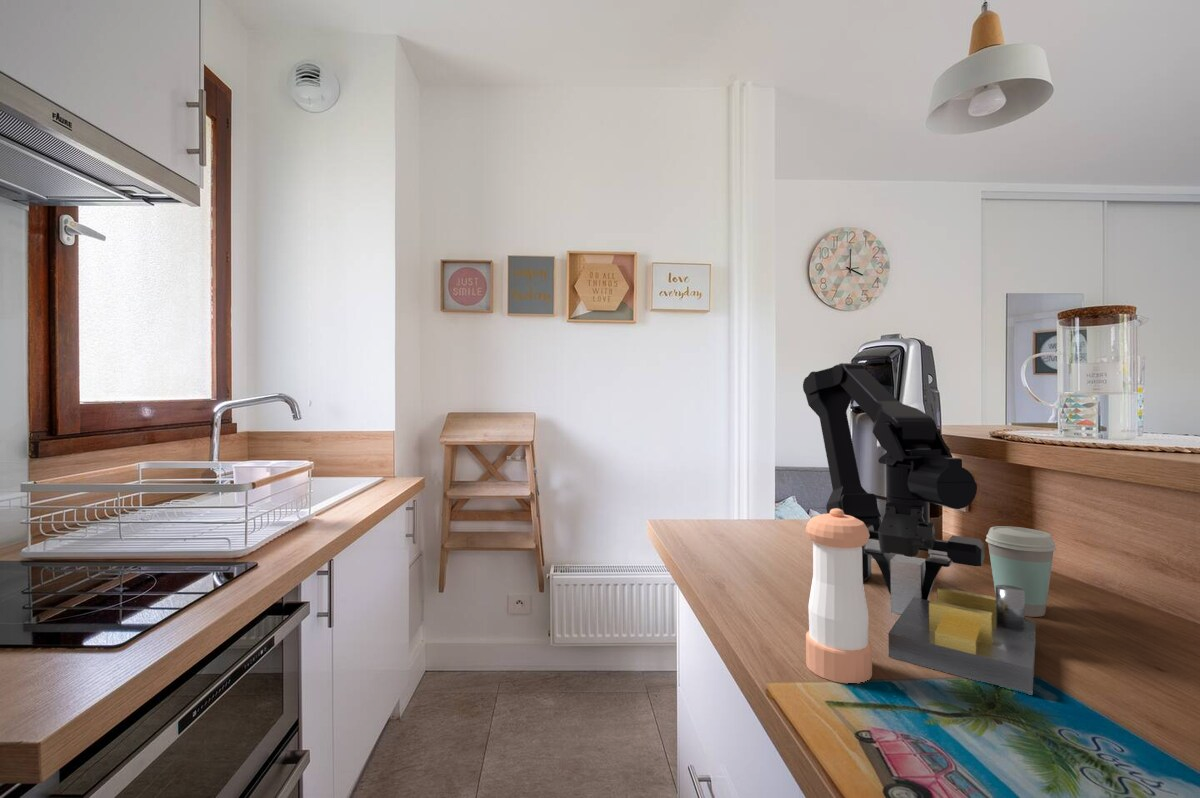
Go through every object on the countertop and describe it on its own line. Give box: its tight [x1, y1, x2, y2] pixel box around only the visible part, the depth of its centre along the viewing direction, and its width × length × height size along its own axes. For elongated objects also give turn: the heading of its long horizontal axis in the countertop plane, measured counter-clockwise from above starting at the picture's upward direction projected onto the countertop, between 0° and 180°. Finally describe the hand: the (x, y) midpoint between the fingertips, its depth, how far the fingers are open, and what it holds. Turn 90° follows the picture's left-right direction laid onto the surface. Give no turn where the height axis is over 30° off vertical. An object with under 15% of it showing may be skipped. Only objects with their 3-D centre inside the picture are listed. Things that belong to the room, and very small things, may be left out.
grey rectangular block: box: [890, 553, 927, 616], centre depth 81 cm, size 4×4×8 cm
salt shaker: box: [805, 508, 873, 684], centre depth 64 cm, size 7×7×19 cm
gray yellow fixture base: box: [887, 585, 1036, 696], centre depth 68 cm, size 14×16×8 cm
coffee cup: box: [985, 525, 1057, 618], centre depth 82 cm, size 8×9×12 cm
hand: (908, 598), depth 81 cm, fingers closed on grey rectangular block, 4 cm apart
